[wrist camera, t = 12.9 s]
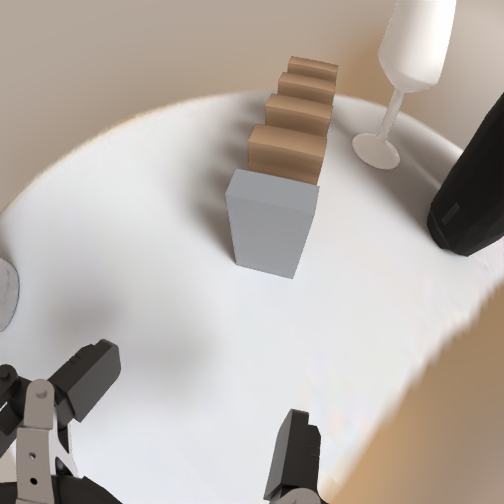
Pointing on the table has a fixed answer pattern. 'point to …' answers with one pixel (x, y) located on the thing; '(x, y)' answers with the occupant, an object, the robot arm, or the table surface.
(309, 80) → the walnut domino
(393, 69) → the champagne flute
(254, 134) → the walnut domino
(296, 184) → the grey domino
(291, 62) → the walnut domino
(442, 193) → the portable speaker
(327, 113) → the walnut domino
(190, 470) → the table surface
